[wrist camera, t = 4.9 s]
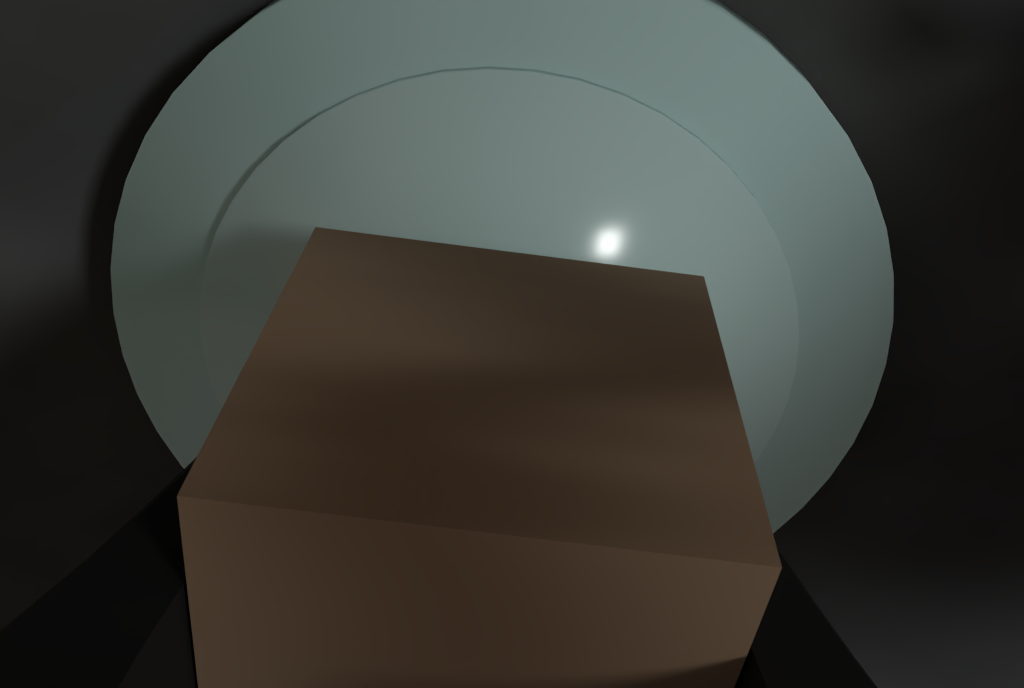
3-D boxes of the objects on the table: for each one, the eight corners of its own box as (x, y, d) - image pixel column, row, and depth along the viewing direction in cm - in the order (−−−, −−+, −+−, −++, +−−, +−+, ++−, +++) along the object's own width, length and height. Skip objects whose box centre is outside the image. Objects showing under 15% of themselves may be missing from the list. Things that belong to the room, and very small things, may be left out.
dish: (998, -3, 11) (1041, 22, 10) (760, 606, 17) (773, 660, 16) (92, -124, 11) (43, -111, 10) (172, 538, 17) (147, 588, 16)
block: (704, 275, 11) (781, 566, 7) (630, 551, 13) (658, 877, 9) (315, 226, 10) (176, 495, 7) (314, 514, 13) (213, 828, 9)
